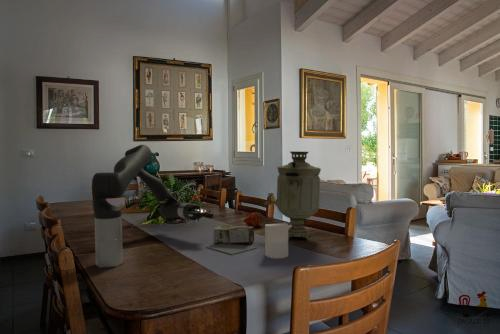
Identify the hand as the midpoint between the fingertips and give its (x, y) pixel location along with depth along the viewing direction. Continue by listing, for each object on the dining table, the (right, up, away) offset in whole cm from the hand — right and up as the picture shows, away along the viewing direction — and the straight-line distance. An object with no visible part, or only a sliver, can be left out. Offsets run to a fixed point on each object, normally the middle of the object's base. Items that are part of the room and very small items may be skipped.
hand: (212, 215), depth 170 cm
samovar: (+37, -11, +11) cm, 40 cm away
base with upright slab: (+27, -13, -20) cm, 36 cm away
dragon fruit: (+19, -11, +36) cm, 42 cm away
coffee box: (+2, -8, +2) cm, 9 cm away
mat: (+9, -12, -9) cm, 18 cm away
